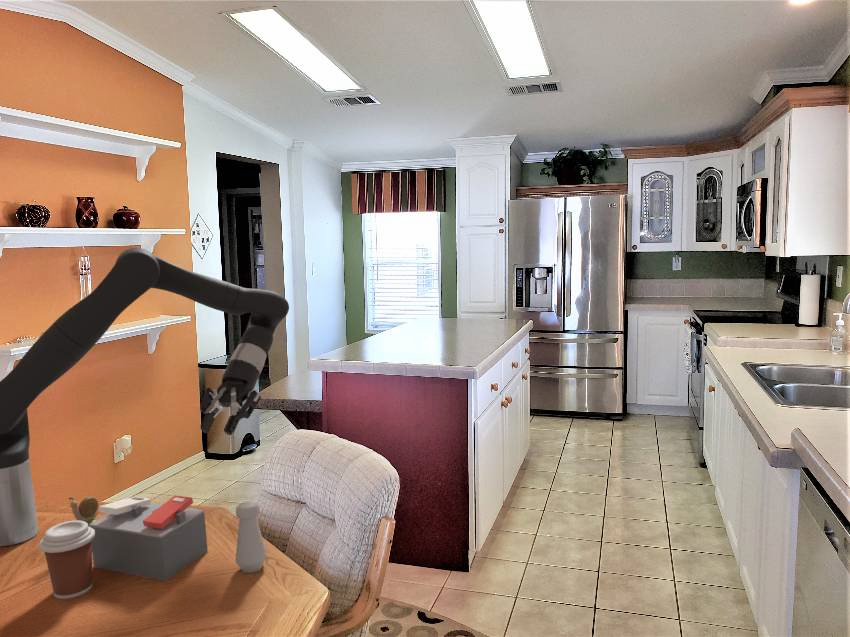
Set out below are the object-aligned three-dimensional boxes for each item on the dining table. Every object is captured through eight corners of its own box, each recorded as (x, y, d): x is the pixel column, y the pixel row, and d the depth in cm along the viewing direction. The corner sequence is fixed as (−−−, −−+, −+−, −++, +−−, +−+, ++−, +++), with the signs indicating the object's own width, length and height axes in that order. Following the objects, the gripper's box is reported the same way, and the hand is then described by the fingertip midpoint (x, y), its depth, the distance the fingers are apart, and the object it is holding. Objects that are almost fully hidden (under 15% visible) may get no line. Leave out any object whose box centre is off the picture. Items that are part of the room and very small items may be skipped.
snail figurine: (67, 550, 138) (60, 496, 136) (92, 537, 144) (86, 484, 142) (85, 554, 136) (79, 499, 134) (111, 540, 142) (105, 487, 140)
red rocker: (144, 526, 126) (142, 520, 125) (175, 500, 134) (174, 494, 133) (162, 529, 124) (160, 522, 124) (193, 502, 132) (191, 497, 132)
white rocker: (99, 512, 129) (99, 505, 129) (134, 502, 138) (134, 495, 138) (116, 514, 128) (116, 508, 128) (150, 504, 136) (150, 498, 136)
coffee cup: (42, 588, 123) (34, 527, 121) (95, 571, 128) (88, 513, 127) (49, 609, 115) (41, 544, 114) (105, 590, 121) (98, 529, 119)
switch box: (93, 567, 130) (88, 515, 129) (139, 540, 141) (135, 492, 140) (165, 581, 123) (160, 526, 122) (207, 551, 135) (203, 501, 133)
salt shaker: (258, 576, 124) (253, 511, 122) (230, 574, 125) (225, 509, 123) (271, 561, 129) (267, 498, 128) (245, 559, 131) (240, 497, 129)
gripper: (211, 357, 151) (179, 421, 142) (263, 359, 146) (234, 426, 136) (227, 374, 157) (198, 438, 147) (278, 377, 152) (251, 442, 142)
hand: (215, 432), depth 142 cm, fingers open, 5 cm apart
